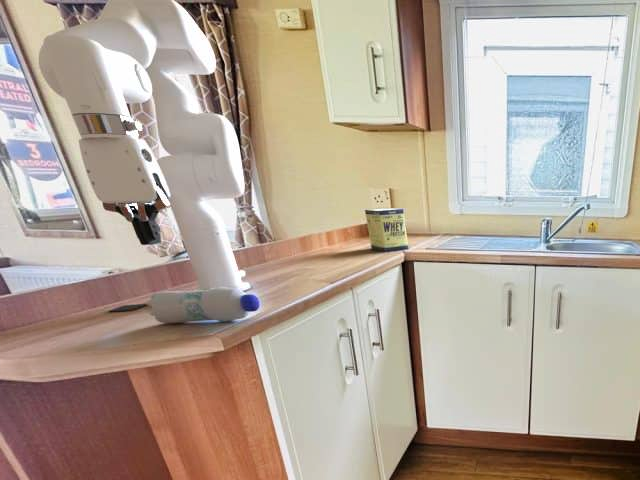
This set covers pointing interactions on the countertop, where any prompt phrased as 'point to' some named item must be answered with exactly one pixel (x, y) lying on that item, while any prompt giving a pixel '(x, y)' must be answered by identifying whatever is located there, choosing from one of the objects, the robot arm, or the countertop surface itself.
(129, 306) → the bottle marker
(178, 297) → the bottle
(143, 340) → the countertop surface
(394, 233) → the protein box
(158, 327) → the countertop surface
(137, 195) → the robot arm
